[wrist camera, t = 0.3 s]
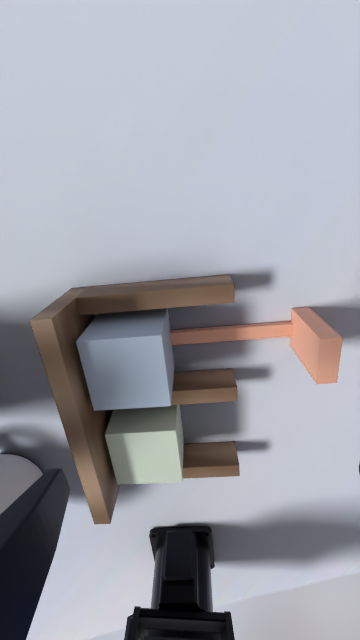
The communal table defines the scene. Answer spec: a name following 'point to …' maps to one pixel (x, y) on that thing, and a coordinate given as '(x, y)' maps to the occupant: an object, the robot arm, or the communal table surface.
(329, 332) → the wooden bar with block
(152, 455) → the green block
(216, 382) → the lane rack
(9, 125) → the communal table surface
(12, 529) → the robot arm
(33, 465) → the cup
